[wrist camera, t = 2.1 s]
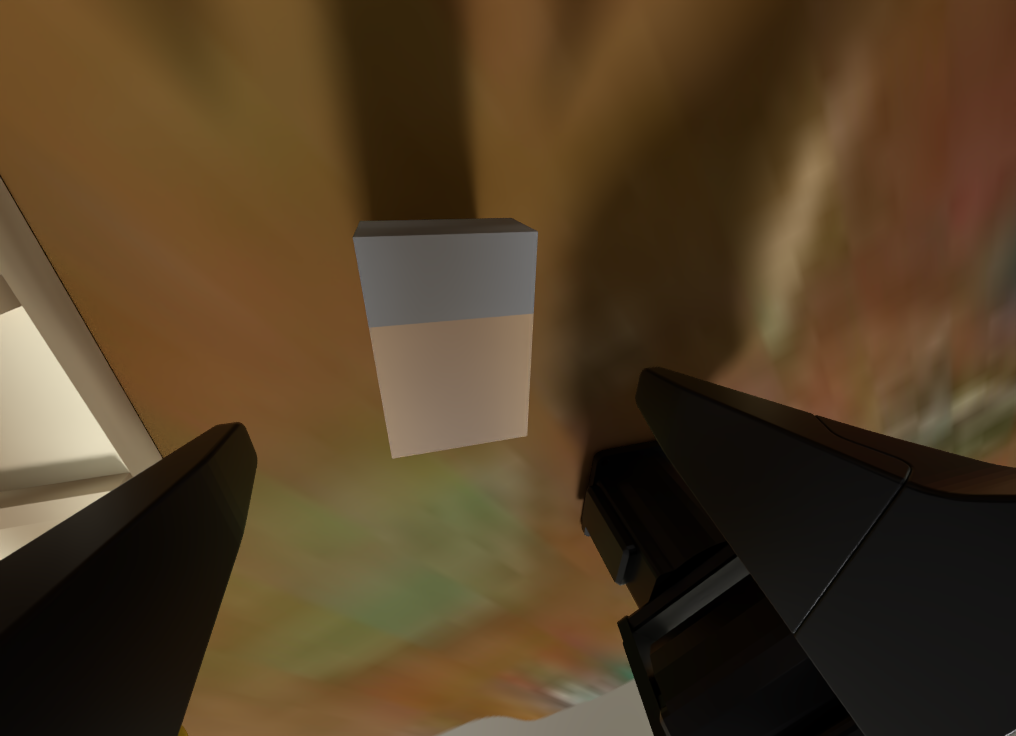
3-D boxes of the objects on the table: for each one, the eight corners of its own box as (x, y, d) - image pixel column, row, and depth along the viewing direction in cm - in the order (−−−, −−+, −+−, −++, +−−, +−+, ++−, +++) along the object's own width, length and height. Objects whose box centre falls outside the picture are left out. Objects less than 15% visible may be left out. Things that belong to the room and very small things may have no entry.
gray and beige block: (479, 201, 13) (537, 231, 8) (481, 344, 15) (527, 436, 10) (367, 202, 12) (353, 236, 7) (391, 353, 15) (392, 458, 10)
